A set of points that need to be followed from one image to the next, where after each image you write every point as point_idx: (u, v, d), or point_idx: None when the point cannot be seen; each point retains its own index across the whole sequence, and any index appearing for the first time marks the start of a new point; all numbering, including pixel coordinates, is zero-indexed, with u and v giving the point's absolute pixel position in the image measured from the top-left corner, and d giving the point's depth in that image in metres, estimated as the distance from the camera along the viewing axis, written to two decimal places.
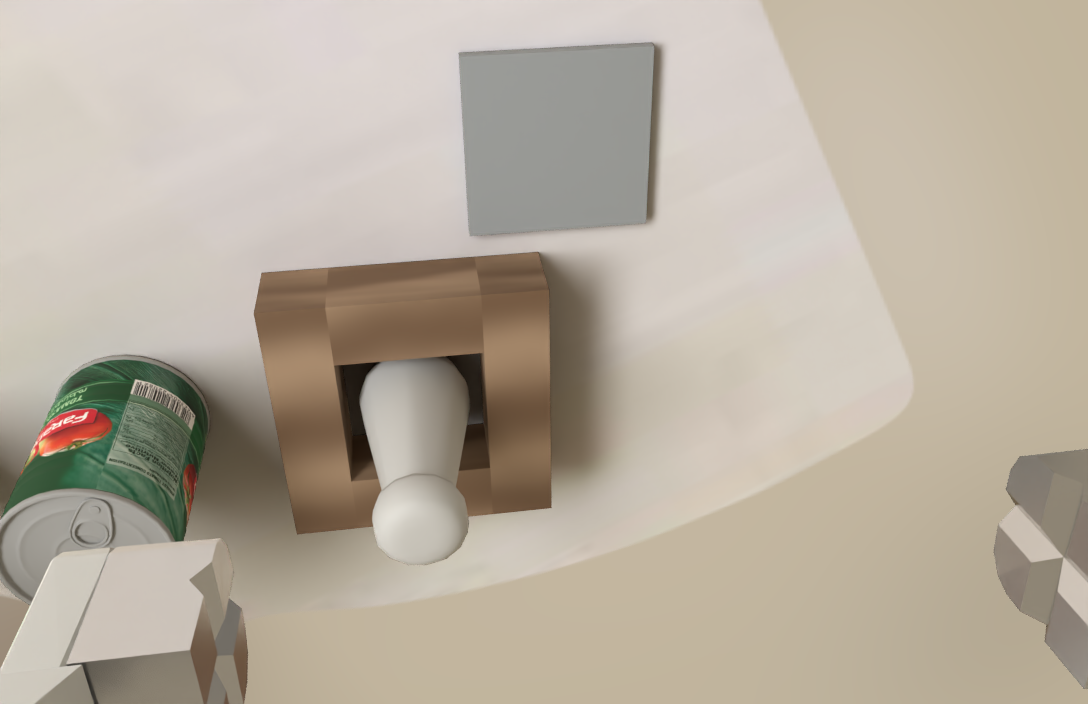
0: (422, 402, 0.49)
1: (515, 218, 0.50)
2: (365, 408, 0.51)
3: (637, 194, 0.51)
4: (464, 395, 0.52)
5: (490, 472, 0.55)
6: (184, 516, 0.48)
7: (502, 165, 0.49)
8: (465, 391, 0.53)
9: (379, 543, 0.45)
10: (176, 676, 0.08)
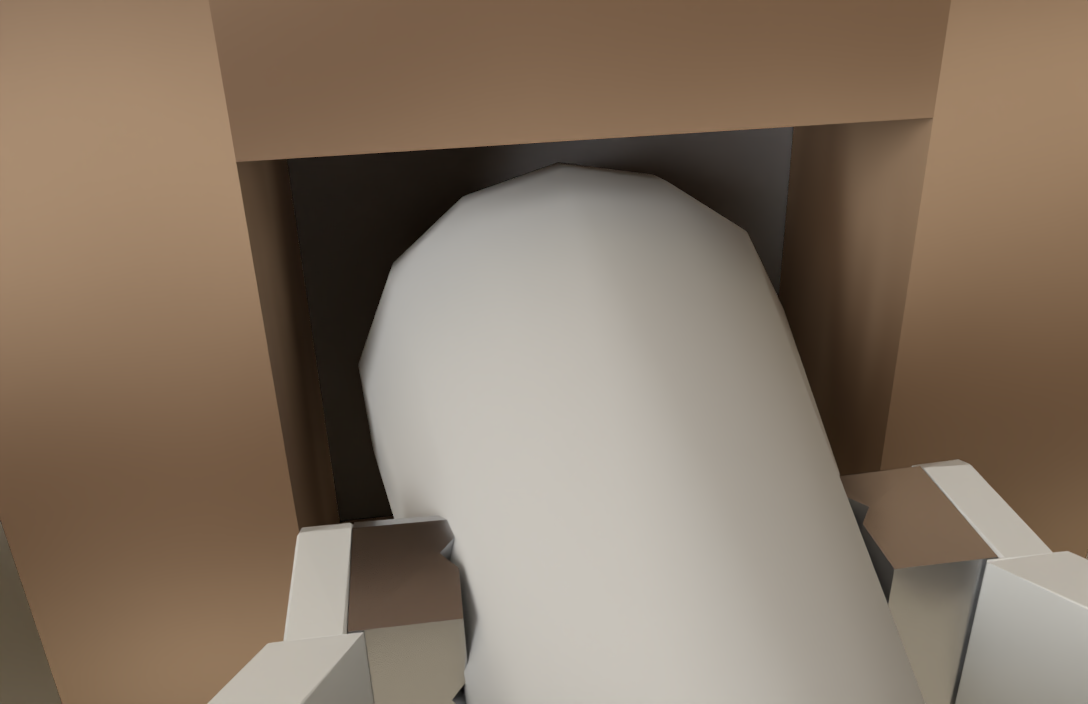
0: (676, 335, 0.10)
1: None
2: (386, 393, 0.12)
3: None
4: (794, 342, 0.13)
5: None
6: None
7: None
8: (789, 329, 0.13)
9: None
10: (447, 644, 0.08)
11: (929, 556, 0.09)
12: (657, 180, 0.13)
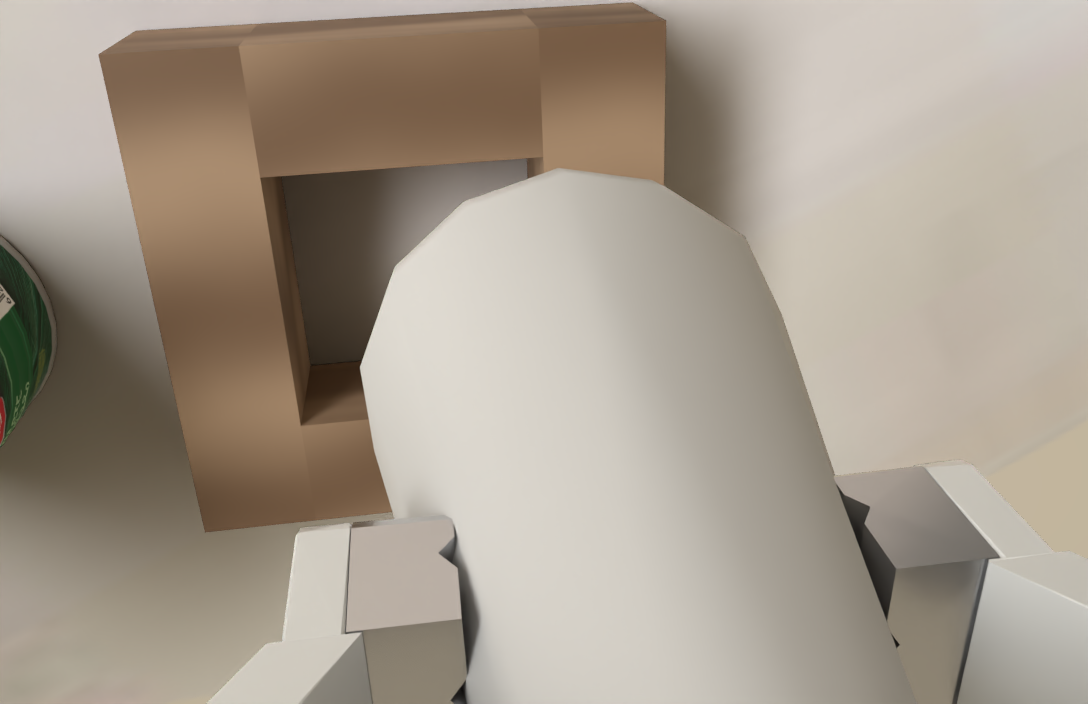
0: (674, 338, 0.10)
1: None
2: (387, 396, 0.12)
3: None
4: (791, 346, 0.13)
5: None
6: None
7: None
8: (787, 334, 0.13)
9: None
10: (445, 644, 0.08)
11: (931, 555, 0.09)
12: (656, 186, 0.13)
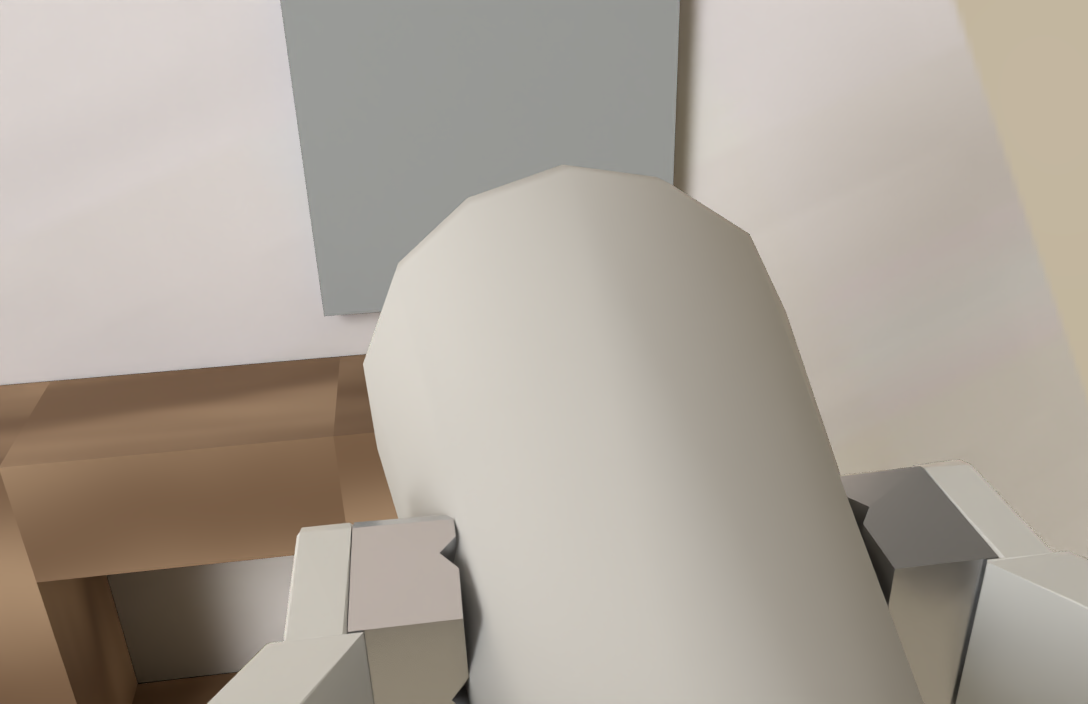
0: (679, 335, 0.10)
1: None
2: (390, 392, 0.12)
3: None
4: (796, 344, 0.13)
5: None
6: None
7: (380, 173, 0.24)
8: (791, 332, 0.13)
9: None
10: (447, 644, 0.08)
11: (929, 556, 0.09)
12: (661, 183, 0.13)
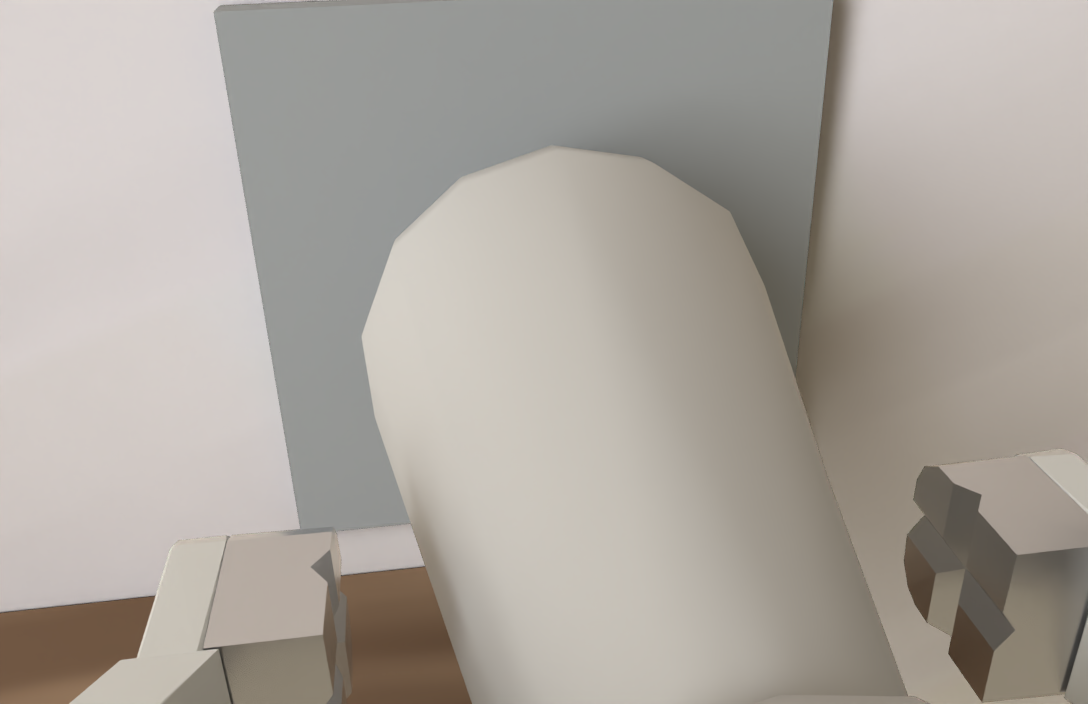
0: (662, 304, 0.11)
1: None
2: (389, 361, 0.12)
3: None
4: (773, 315, 0.13)
5: None
6: None
7: None
8: (769, 304, 0.14)
9: None
10: (308, 661, 0.08)
11: (1049, 542, 0.09)
12: (645, 162, 0.13)
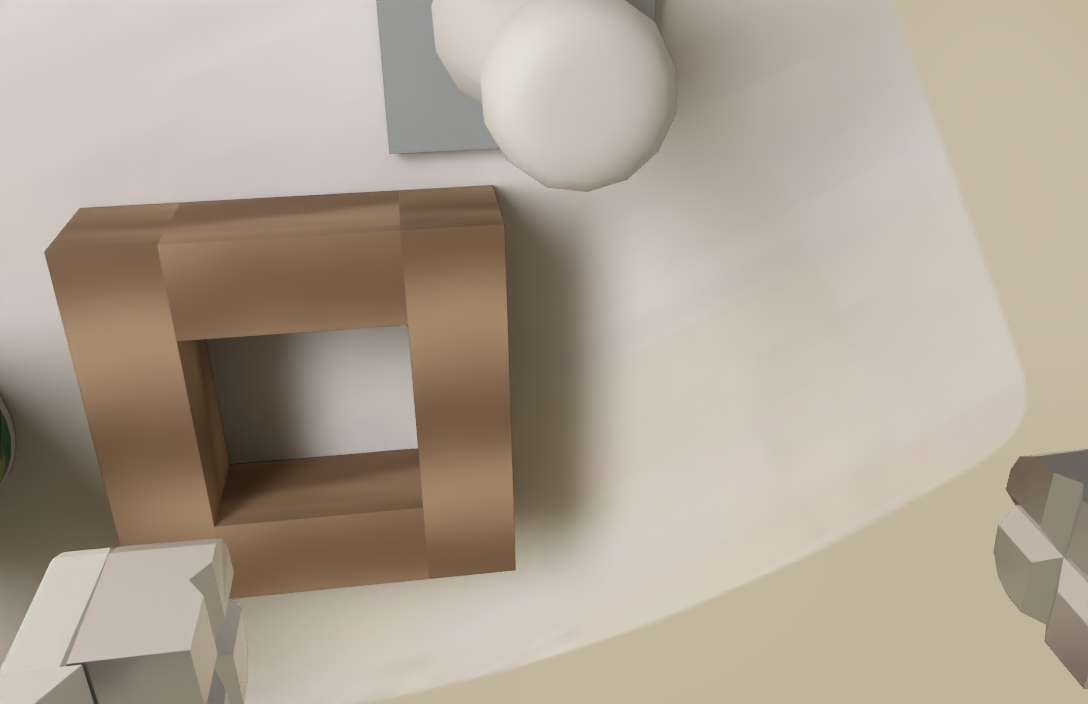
0: None
1: (457, 127, 0.34)
2: (446, 2, 0.29)
3: None
4: None
5: (423, 514, 0.37)
6: None
7: None
8: None
9: (495, 122, 0.21)
10: (176, 677, 0.08)
11: None
12: None
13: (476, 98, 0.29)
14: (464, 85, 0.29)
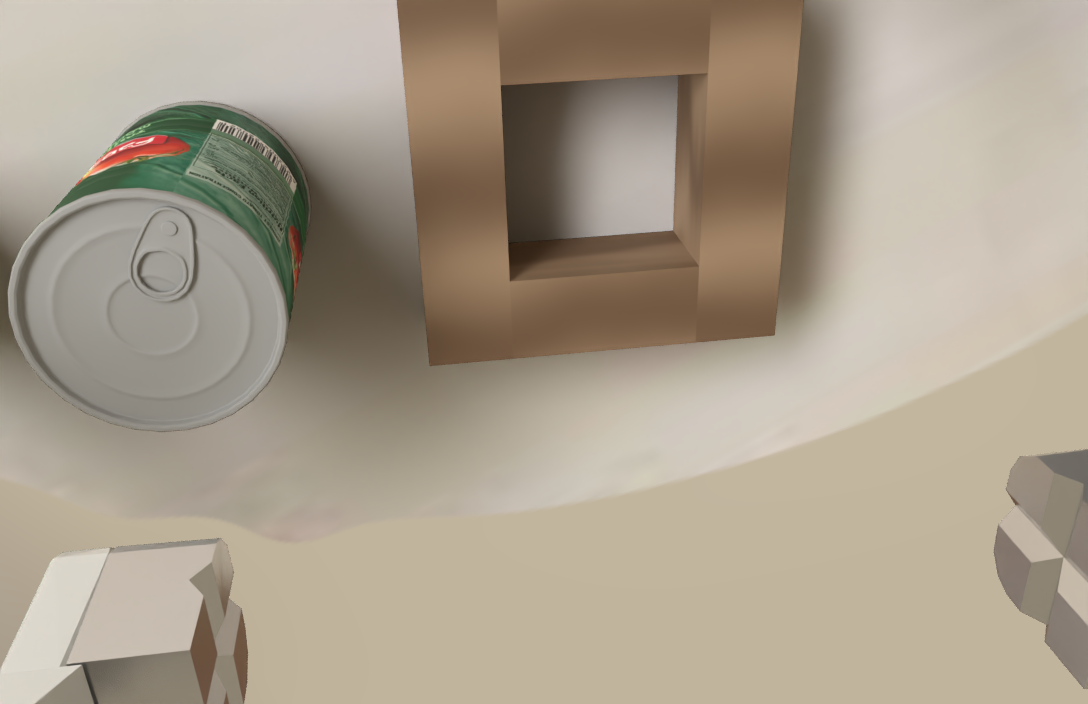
0: None
1: None
2: None
3: None
4: None
5: (698, 274, 0.39)
6: (292, 281, 0.33)
7: None
8: None
9: None
10: (176, 676, 0.08)
11: None
12: None
13: None
14: None
